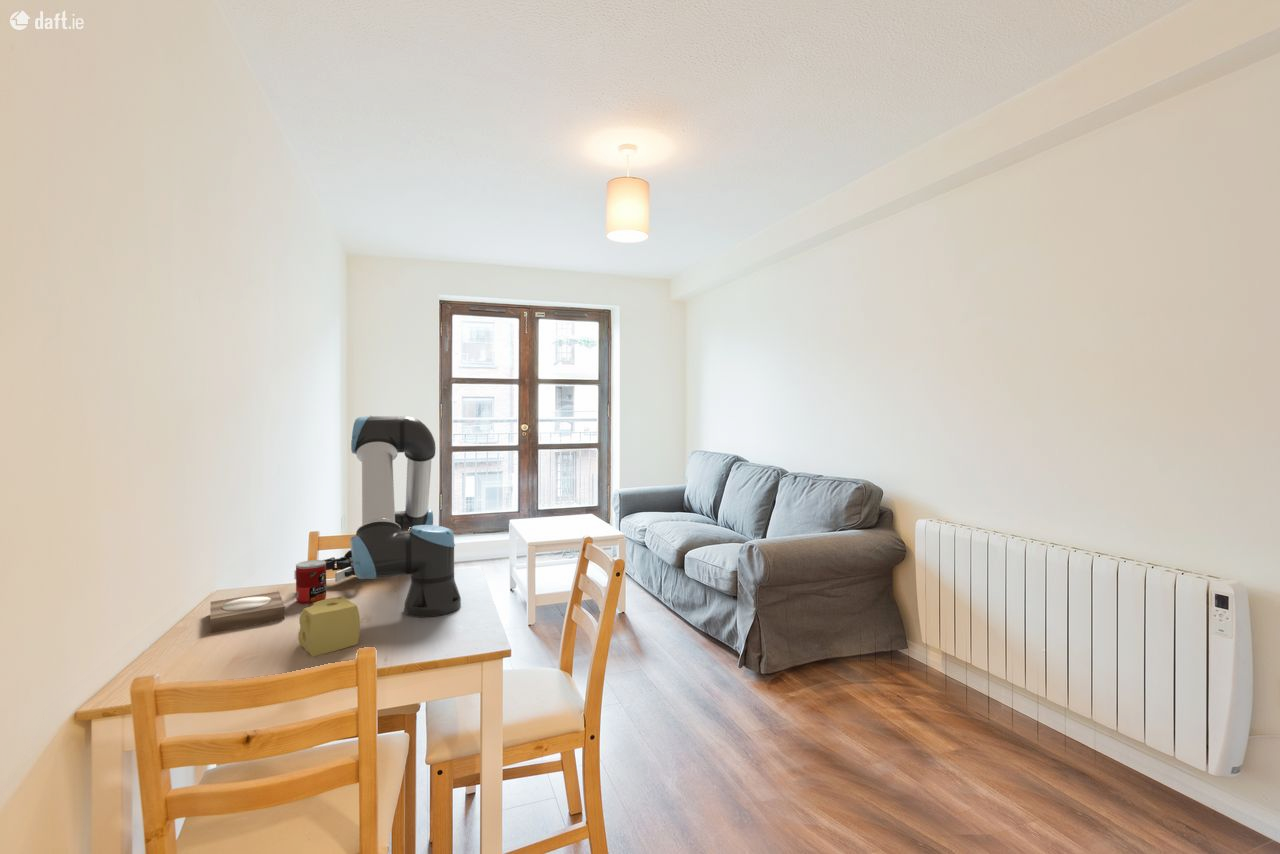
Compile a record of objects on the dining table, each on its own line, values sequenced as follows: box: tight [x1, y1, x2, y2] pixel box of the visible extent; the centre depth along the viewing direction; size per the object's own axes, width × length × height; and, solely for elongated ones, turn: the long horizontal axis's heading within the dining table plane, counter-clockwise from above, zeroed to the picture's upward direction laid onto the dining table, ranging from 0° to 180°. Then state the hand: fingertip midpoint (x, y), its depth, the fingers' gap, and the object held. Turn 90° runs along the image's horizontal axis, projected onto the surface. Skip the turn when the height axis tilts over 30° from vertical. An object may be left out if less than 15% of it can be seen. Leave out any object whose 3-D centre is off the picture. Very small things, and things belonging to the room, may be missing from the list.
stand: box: [209, 591, 286, 633], centre depth 158 cm, size 16×16×4 cm
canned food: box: [295, 559, 327, 605], centre depth 172 cm, size 8×8×11 cm
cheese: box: [297, 595, 361, 658], centre depth 139 cm, size 10×11×10 cm
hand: (315, 576), depth 174 cm, fingers open, 13 cm apart
